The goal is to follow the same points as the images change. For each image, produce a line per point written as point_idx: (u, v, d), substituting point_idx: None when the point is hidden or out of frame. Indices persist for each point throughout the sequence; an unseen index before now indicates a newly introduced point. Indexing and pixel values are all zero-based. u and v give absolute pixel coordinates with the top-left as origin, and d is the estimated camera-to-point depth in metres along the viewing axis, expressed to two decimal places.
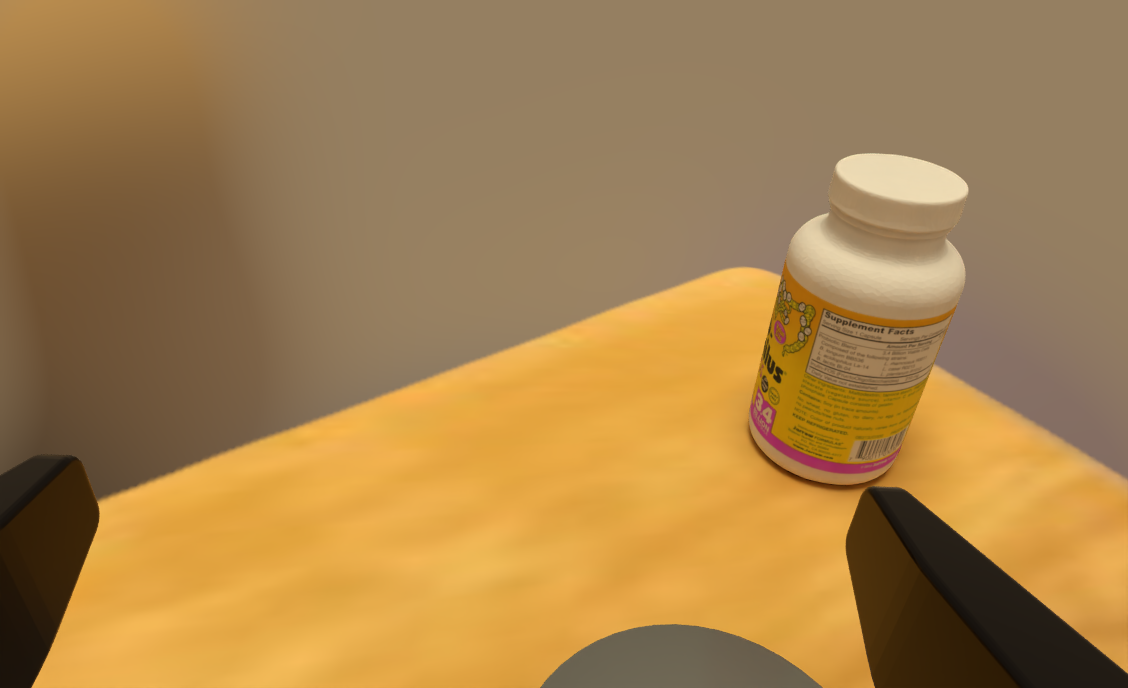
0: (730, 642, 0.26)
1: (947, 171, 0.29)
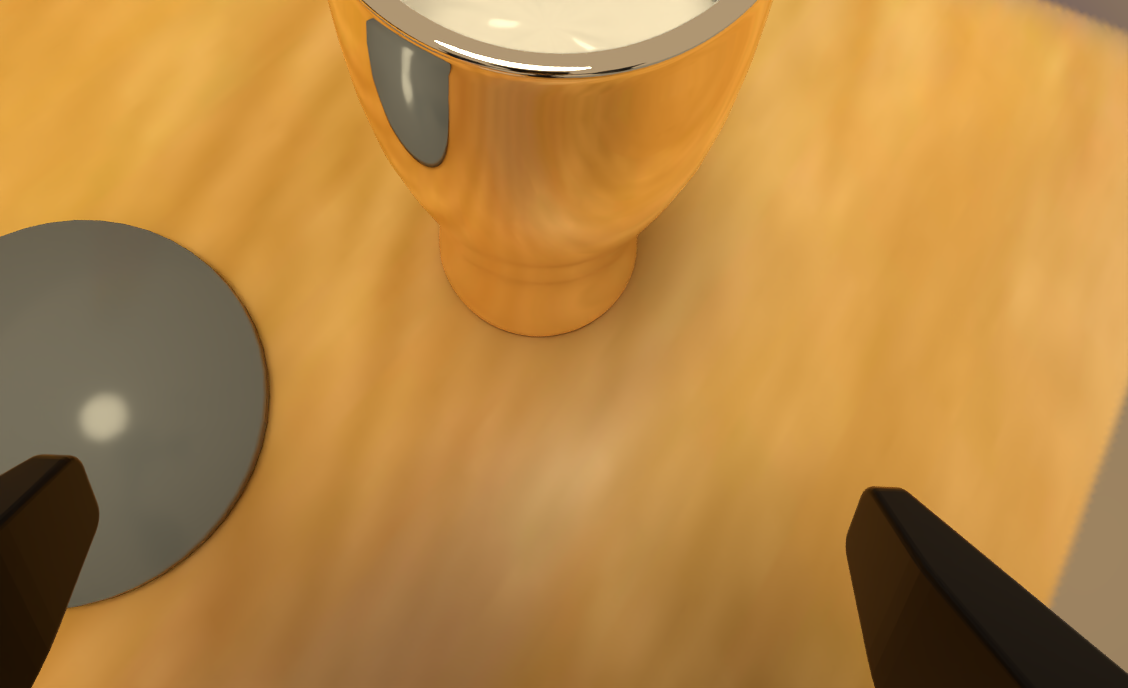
0: (42, 235, 0.23)
1: None
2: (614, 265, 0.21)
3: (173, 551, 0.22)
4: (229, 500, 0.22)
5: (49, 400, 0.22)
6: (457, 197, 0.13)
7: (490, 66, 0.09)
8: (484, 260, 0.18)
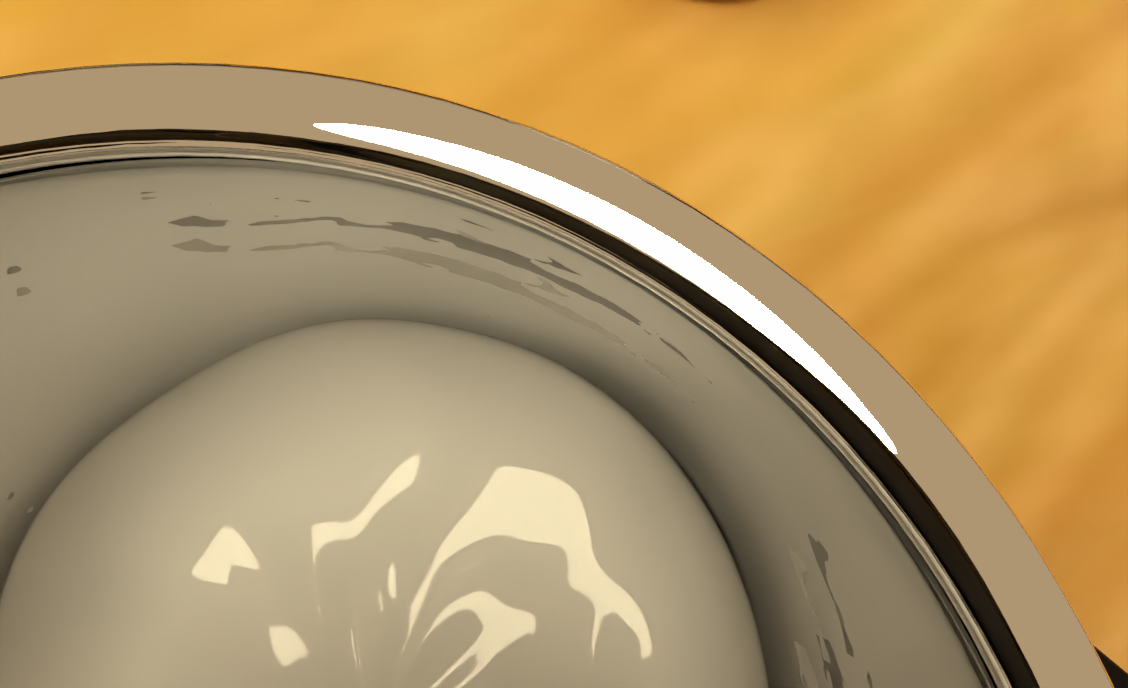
0: None
1: None
2: None
3: None
4: None
5: None
6: None
7: None
8: None
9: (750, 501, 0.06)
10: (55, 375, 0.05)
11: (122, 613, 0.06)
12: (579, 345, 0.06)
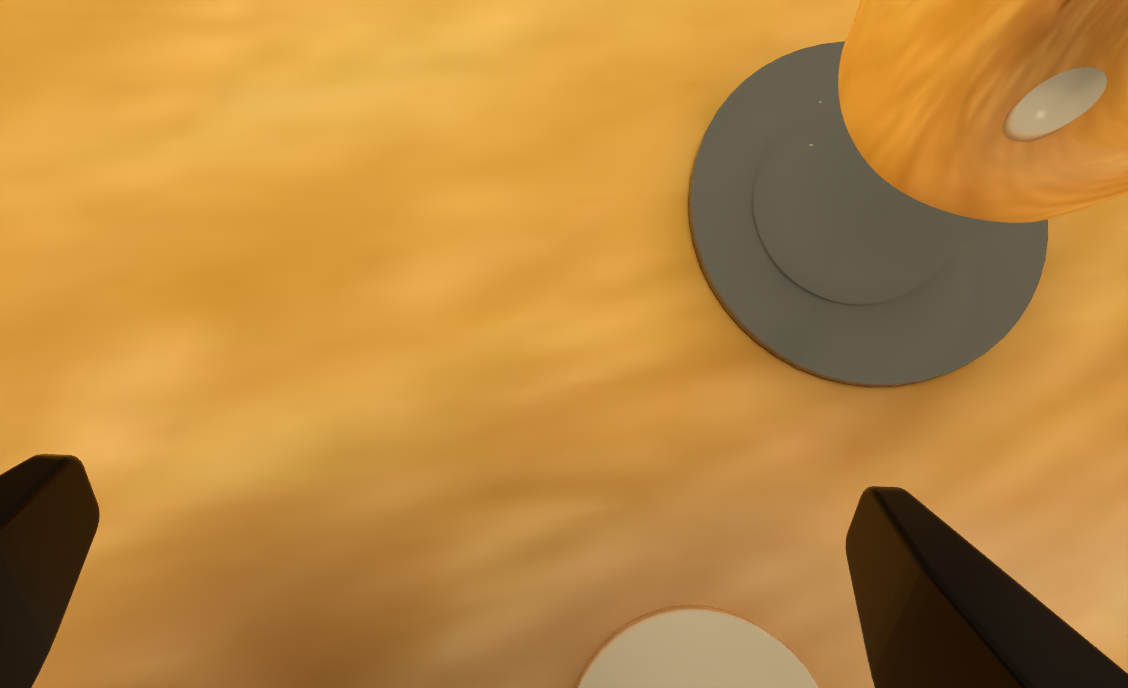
0: None
1: None
2: (952, 250, 0.21)
3: (876, 376, 0.23)
4: None
5: None
6: (984, 103, 0.13)
7: None
8: (873, 194, 0.18)
9: None
10: None
11: None
12: None
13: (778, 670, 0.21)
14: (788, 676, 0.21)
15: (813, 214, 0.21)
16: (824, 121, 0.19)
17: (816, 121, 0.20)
